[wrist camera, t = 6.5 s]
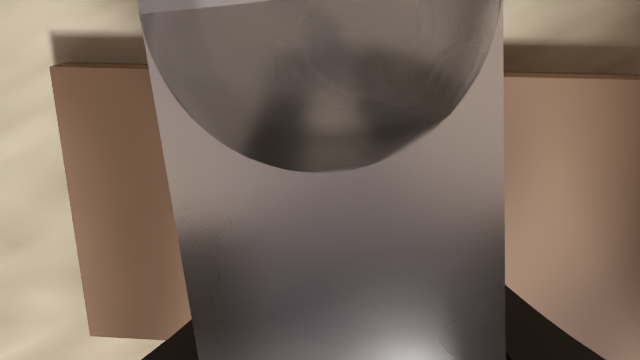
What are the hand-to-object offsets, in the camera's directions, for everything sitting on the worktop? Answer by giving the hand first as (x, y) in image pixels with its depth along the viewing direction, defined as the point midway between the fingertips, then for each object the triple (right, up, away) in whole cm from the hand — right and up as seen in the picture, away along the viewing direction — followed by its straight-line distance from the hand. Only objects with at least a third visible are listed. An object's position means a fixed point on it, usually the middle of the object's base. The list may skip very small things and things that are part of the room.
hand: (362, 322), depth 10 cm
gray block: (0, +1, +2) cm, 2 cm away
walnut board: (0, +2, +5) cm, 5 cm away
